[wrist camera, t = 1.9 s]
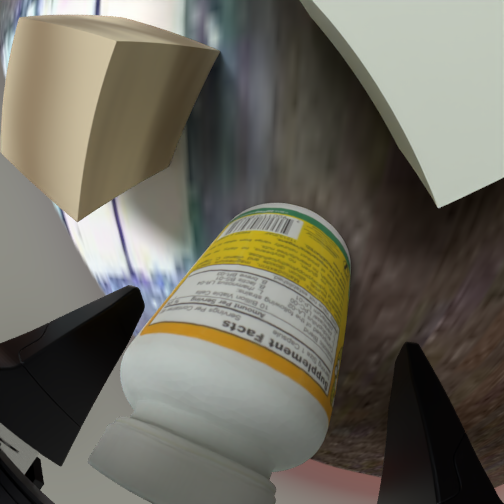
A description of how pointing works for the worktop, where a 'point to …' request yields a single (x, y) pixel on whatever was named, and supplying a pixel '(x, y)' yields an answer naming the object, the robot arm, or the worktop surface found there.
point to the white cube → (430, 81)
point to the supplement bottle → (235, 365)
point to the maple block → (97, 104)
